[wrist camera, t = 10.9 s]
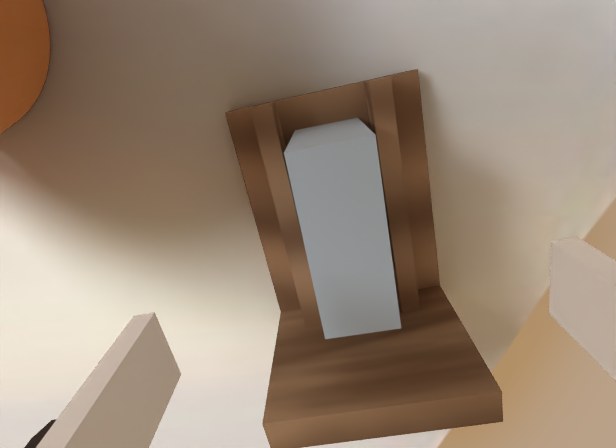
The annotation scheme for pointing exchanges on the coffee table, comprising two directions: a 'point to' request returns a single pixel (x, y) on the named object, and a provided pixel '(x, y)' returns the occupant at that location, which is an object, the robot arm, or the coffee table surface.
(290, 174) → the blue-gray rectangular block
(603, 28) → the coffee table surface
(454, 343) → the track
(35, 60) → the flower pot
